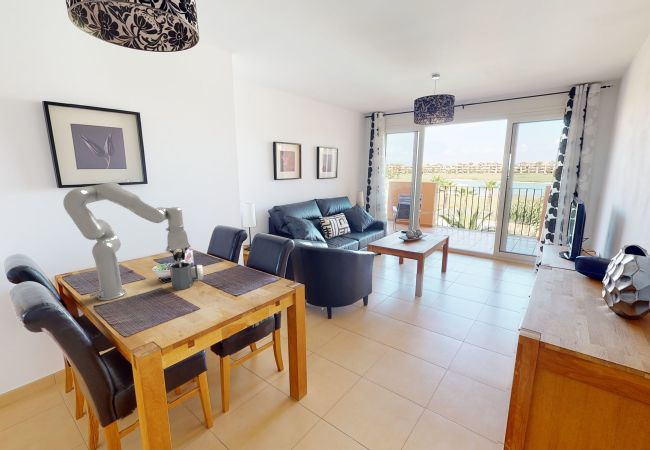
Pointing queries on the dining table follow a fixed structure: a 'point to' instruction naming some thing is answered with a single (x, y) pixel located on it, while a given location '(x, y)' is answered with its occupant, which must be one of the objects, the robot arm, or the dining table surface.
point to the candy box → (188, 256)
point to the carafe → (182, 276)
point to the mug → (199, 271)
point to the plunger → (179, 255)
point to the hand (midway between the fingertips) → (179, 259)
